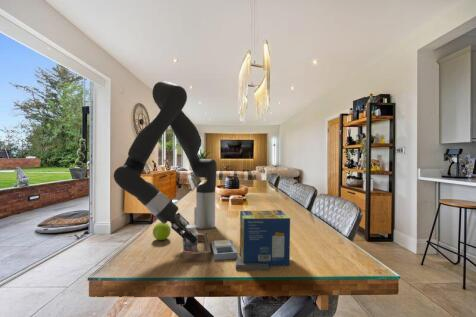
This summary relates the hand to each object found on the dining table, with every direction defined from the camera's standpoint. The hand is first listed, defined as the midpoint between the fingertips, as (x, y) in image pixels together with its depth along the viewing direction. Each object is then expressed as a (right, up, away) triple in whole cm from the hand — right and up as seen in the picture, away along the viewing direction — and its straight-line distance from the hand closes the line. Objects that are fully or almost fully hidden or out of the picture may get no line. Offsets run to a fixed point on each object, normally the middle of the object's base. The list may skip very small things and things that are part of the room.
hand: (195, 238), depth 86 cm
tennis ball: (-16, -4, +10) cm, 19 cm away
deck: (+11, -5, -2) cm, 12 cm away
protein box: (+25, -5, -7) cm, 26 cm away
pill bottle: (-2, -5, 0) cm, 5 cm away
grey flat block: (+20, -5, -13) cm, 24 cm away
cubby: (0, -4, 0) cm, 4 cm away
